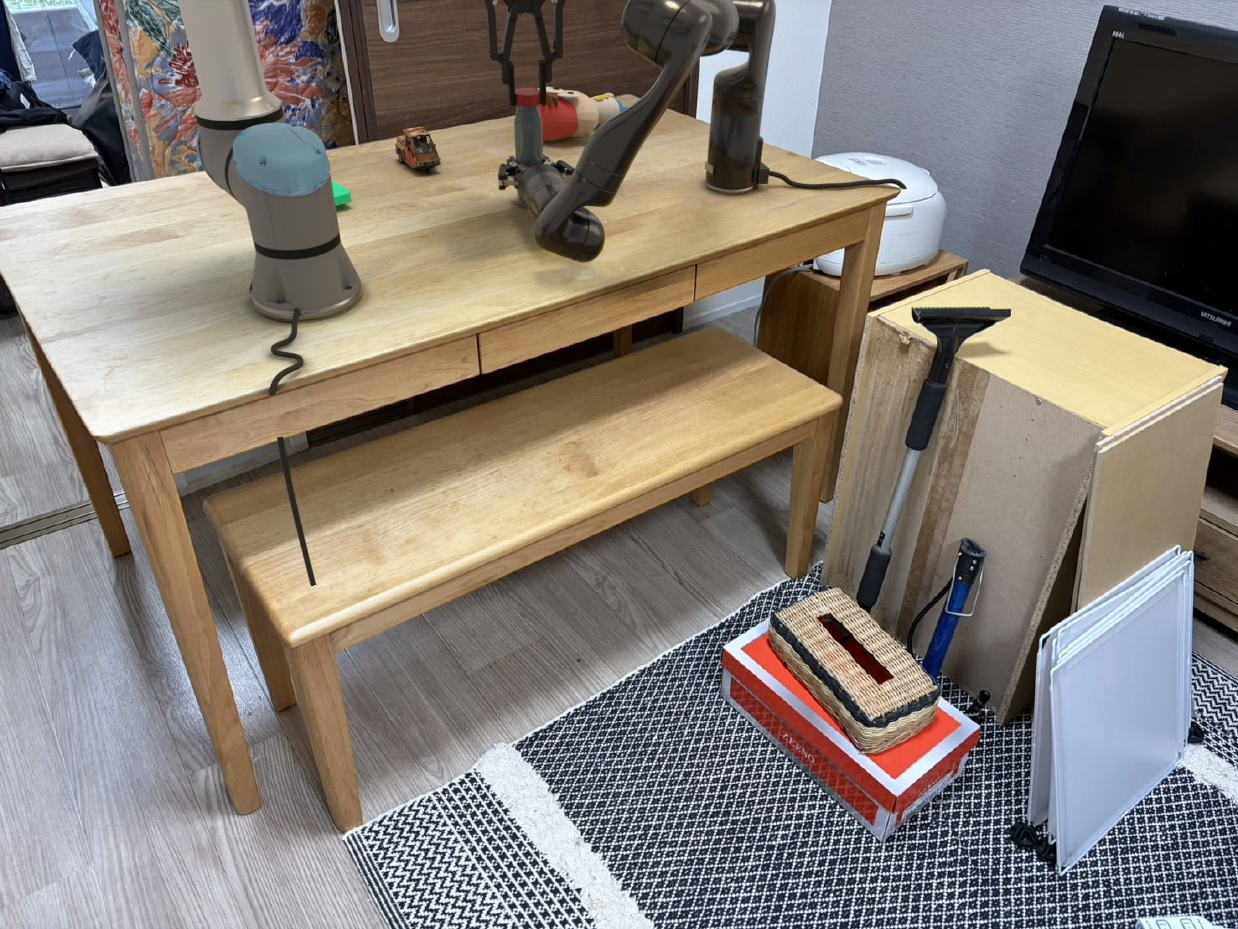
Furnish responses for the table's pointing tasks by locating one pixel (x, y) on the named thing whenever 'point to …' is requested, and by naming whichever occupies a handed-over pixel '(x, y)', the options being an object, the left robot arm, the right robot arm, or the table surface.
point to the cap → (527, 97)
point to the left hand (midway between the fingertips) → (527, 102)
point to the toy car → (417, 149)
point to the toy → (575, 113)
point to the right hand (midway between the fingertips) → (526, 160)
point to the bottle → (528, 139)
